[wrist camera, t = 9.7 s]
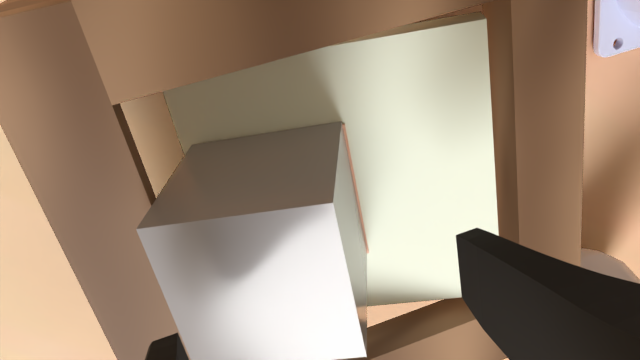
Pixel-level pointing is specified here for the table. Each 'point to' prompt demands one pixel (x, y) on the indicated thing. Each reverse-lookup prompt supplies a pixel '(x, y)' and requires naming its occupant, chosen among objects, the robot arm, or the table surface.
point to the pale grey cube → (263, 248)
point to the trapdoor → (381, 138)
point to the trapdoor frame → (248, 51)
